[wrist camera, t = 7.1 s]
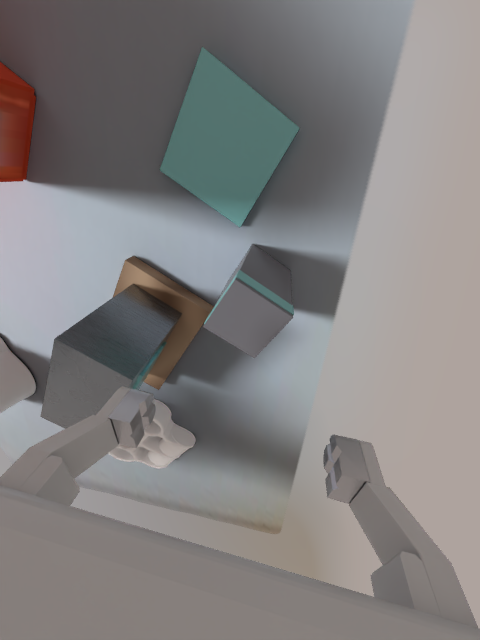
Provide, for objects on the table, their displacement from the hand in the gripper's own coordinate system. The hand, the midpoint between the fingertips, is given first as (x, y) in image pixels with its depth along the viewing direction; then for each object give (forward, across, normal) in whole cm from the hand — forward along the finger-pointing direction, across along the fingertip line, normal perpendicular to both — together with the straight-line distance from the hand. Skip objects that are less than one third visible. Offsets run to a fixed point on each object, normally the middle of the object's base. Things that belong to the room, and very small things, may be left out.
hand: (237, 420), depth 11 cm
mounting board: (+16, +14, +8) cm, 22 cm away
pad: (+16, +5, -11) cm, 20 cm away
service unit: (+14, +14, +8) cm, 21 cm away
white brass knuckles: (+17, +17, +31) cm, 39 cm away
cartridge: (+16, +1, -1) cm, 16 cm away
